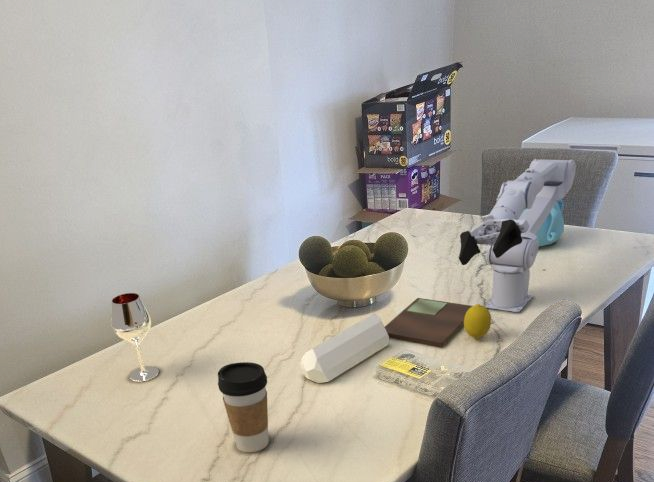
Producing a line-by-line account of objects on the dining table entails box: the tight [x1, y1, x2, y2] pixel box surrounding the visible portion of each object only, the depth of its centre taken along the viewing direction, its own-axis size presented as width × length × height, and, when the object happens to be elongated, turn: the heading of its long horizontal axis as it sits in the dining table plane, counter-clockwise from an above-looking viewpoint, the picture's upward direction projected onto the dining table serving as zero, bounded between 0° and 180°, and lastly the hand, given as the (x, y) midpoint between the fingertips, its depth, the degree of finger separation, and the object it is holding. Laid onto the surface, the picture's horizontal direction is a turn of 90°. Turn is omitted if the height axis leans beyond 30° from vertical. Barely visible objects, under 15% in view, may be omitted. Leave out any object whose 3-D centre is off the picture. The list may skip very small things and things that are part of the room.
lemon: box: [463, 303, 492, 340], centre depth 146 cm, size 6×6×8 cm
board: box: [384, 297, 473, 348], centre depth 157 cm, size 20×15×1 cm
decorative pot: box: [518, 198, 565, 247], centre depth 189 cm, size 16×16×14 cm
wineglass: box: [110, 292, 160, 383], centre depth 146 cm, size 8×8×18 cm
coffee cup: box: [217, 361, 270, 453], centre depth 120 cm, size 8×8×15 cm
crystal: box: [299, 313, 390, 384], centre depth 145 cm, size 7×7×24 cm
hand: (478, 257), depth 138 cm, fingers open, 7 cm apart
